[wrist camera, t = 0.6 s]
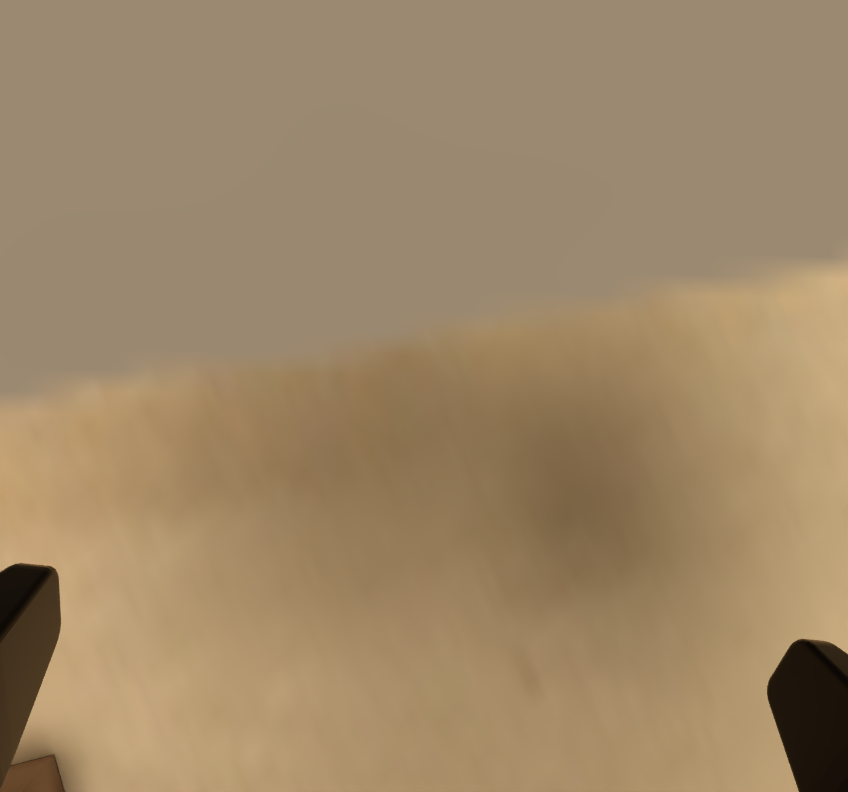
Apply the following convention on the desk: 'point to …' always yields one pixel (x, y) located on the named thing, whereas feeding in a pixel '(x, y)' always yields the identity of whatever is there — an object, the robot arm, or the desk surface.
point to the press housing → (33, 777)
